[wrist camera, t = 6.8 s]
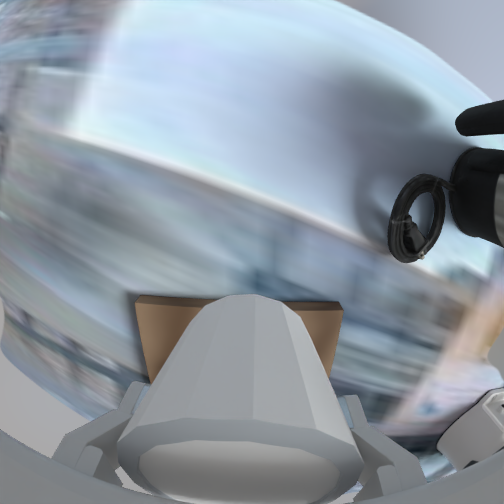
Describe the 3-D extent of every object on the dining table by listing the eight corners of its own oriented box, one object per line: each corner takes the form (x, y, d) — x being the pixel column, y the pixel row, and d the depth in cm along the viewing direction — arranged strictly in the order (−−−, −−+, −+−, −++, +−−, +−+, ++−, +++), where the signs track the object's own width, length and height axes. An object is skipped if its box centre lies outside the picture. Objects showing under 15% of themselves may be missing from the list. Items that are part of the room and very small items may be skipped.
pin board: (338, 301, 25) (353, 328, 20) (305, 443, 31) (309, 470, 27) (140, 294, 25) (121, 319, 20) (171, 437, 31) (164, 463, 27)
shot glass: (174, 390, 13) (137, 503, 7) (171, 268, 11) (84, 388, 5) (305, 404, 13) (321, 521, 7) (340, 288, 11) (411, 418, 5)
